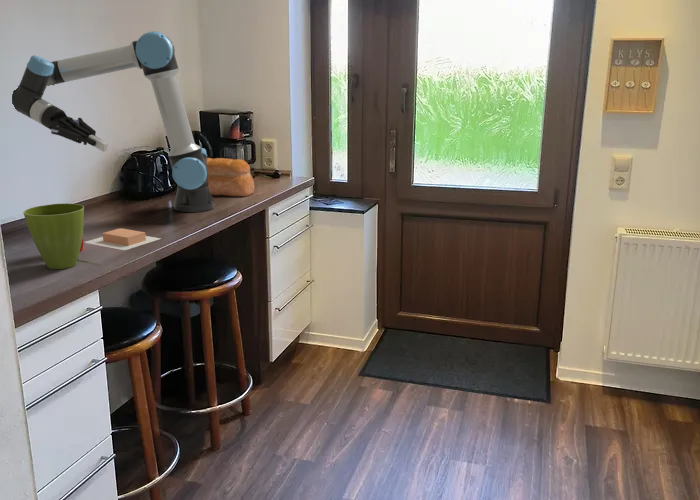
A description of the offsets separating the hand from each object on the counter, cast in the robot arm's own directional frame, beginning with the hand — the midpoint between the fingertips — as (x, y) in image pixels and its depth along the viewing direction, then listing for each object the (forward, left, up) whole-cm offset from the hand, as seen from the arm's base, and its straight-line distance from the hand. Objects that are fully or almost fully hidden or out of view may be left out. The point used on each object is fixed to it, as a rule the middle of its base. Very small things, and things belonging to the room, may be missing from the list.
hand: (105, 147), depth 208 cm
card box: (+4, +14, -26) cm, 29 cm away
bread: (-54, -40, -28) cm, 73 cm away
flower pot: (+21, +34, -28) cm, 49 cm away
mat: (+1, +18, -27) cm, 33 cm away
